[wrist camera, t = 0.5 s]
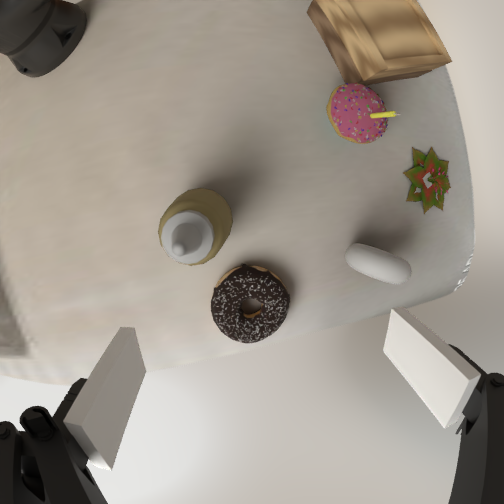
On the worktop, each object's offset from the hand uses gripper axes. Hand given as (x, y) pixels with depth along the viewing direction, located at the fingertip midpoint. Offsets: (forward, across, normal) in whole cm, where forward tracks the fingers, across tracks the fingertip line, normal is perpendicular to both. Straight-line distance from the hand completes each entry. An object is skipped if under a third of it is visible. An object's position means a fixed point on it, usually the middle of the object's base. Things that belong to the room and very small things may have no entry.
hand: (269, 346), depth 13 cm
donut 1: (+27, 0, -10) cm, 29 cm away
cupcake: (+27, +15, +17) cm, 35 cm away
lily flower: (+27, +31, +9) cm, 42 cm away
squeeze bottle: (+27, -6, +3) cm, 27 cm away
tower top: (+22, +21, +31) cm, 44 cm away
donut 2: (+27, +18, -3) cm, 32 cm away
